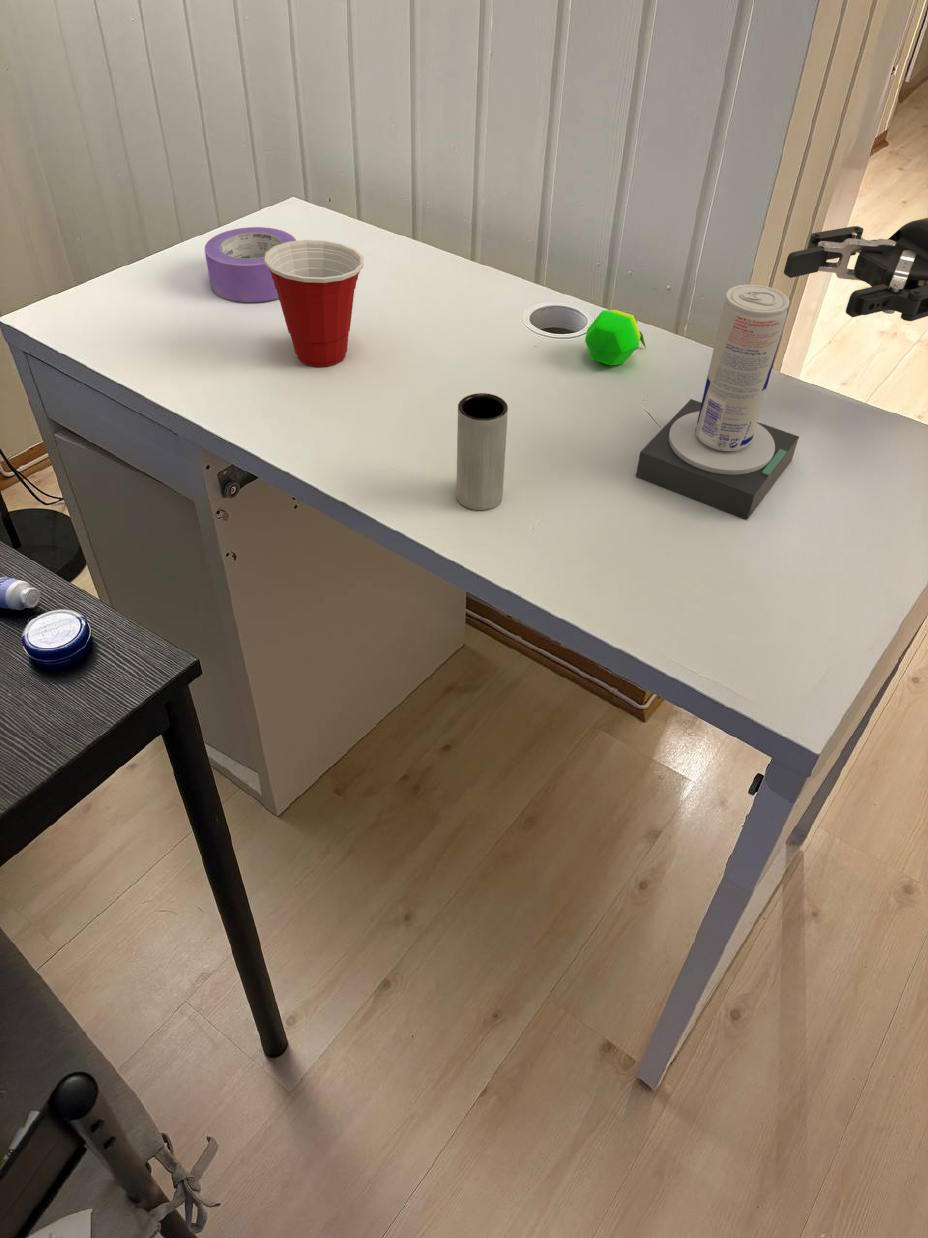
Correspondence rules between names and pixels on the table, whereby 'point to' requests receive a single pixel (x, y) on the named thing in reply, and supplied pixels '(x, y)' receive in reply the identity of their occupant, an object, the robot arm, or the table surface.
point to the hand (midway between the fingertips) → (818, 284)
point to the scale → (716, 464)
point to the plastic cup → (316, 296)
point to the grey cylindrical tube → (481, 450)
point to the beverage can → (741, 365)
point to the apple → (613, 337)
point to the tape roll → (243, 263)
